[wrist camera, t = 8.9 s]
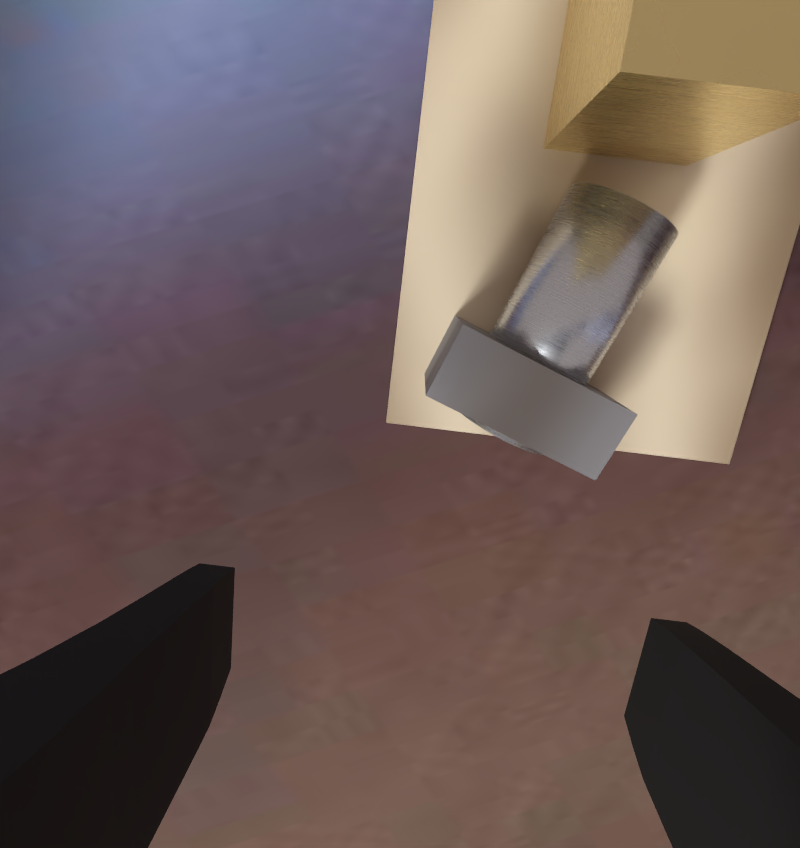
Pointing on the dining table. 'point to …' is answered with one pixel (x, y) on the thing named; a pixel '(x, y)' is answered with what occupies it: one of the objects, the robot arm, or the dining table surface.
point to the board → (525, 227)
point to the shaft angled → (583, 282)
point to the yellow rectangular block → (674, 77)
